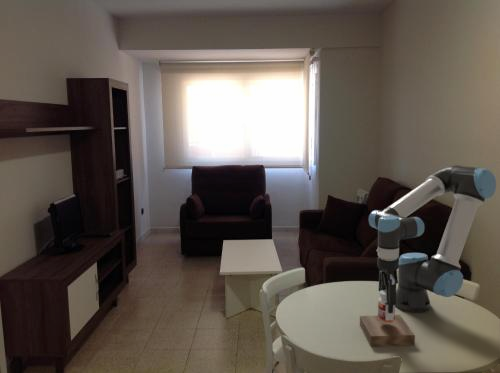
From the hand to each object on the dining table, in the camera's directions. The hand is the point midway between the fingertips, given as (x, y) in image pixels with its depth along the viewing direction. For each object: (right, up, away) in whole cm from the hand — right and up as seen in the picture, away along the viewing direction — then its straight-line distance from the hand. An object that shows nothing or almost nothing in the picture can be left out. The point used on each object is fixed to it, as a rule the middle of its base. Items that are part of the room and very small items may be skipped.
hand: (386, 315), depth 167 cm
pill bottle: (0, -2, 0) cm, 2 cm away
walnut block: (0, -8, +1) cm, 8 cm away
